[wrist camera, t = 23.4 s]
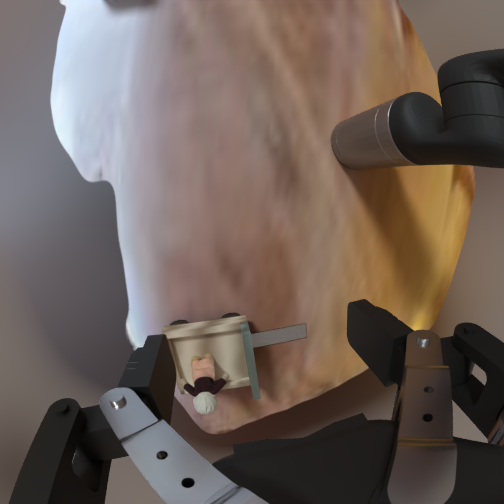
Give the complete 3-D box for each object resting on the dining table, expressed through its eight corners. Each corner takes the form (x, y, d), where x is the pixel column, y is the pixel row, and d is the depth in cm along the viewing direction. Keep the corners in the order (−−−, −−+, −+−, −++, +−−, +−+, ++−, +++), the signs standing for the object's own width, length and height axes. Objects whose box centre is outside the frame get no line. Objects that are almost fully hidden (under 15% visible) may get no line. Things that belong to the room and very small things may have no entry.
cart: (244, 309, 48) (251, 335, 39) (253, 368, 51) (260, 398, 42) (165, 320, 46) (157, 347, 37) (182, 377, 49) (179, 408, 41)
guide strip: (305, 322, 50) (305, 323, 50) (305, 336, 51) (306, 337, 51) (166, 344, 47) (166, 345, 47) (170, 357, 48) (170, 358, 48)
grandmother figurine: (190, 374, 45) (187, 425, 33) (180, 358, 44) (174, 408, 32) (230, 361, 46) (237, 411, 33) (221, 344, 45) (225, 394, 32)
